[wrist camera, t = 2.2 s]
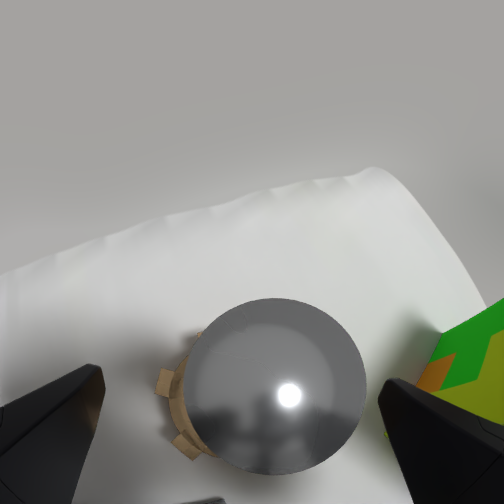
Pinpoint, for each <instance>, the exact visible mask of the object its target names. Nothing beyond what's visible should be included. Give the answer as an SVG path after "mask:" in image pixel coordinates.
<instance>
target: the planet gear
mask: <svg viewBox="0 0 504 504" xmlns="http://www.w3.org/2000/svg"><path fill="white" fill-rule="evenodd" d="M197 335H198V340H197V341H196V343H195V344H194V346H193V348H192V350H191V352H190V354H189V355H188V356H187V357H186V358H185V359H184V360H183V361H182V362H181V363H180V365H179V366H178V368H177V369H176V371H175V372H174V371H170V370H167V369H164V368H161V370H160V374H159V378H158V382H157V385H156V389H155V394H158V395H161V396H164V397H168V398H169V409H170V413H171V416H172V419H173V421H174V424H175V425H176V427H177V429H178V431H179V432H180V434H179V435H178V436H177V437H176V438H175V439H174V440H173V441H171V443H172V444H173V445H174V446H175V447H176V448H177V449H179V450H180V451H181V452H182V453H183V454H185V455H186V456H187V457H188V458H189V459H191V460H192V461H193V460H194V459H195V458H196V457H197V456H198V455H199V454H201V453H202V452H204V453H206V454H208V455H211V456H214V457H218V458H221V459H223V460H224V461H226V462H227V463H229V464H231V465H233V466H235V467H237V468H240V469H243V470H246V471H249V472H252V473H258V474H264V475H283V474H291V473H295V472H300V471H303V470H306V469H309V468H311V467H314V466H316V465H318V464H319V463H321V462H323V461H325V460H326V459H328V458H329V457H330V456H332V455H333V454H334V453H336V452H337V451H338V450H339V449H340V448H341V447H342V446H343V445H344V444H345V442H346V441H347V440H348V439H349V437H350V436H351V435H352V433H353V431H354V430H355V428H356V426H357V424H358V422H359V420H360V417H361V415H362V412H363V408H364V404H365V398H366V374H365V369H364V365H363V361H362V358H361V355H360V353H359V351H358V349H357V347H356V345H355V343H354V341H353V340H352V338H351V337H350V335H349V334H348V333H347V332H346V331H345V329H344V328H343V327H342V326H341V325H340V324H339V323H338V322H337V321H336V320H334V319H333V318H332V317H330V316H329V315H328V314H326V313H325V312H323V311H321V310H319V309H318V308H316V307H313V306H311V305H308V304H306V303H303V302H299V301H295V300H289V299H280V298H270V299H260V300H255V301H250V302H247V303H244V304H241V305H239V306H237V307H235V308H232V309H230V310H228V311H227V312H225V313H224V314H222V315H221V316H219V317H218V318H217V319H216V320H214V321H213V322H212V323H211V324H210V325H209V326H208V327H207V328H206V329H205V330H204V331H203V332H201V333H197Z"/></svg>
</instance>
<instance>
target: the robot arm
mask: <svg viewBox="0 0 504 504" xmlns="http://www.w3.org/2000/svg"><path fill="white" fill-rule="evenodd" d="M105 391H106V388H105V382H104V378H103V373H102V369H101V367H100V366H97V365H93V364H86V365H84V366H82V367H80V368H78V369H76V370H74V371H72V372H70V373H68V374H66V375H64V376H63V377H61V378H59V379H57V380H55V381H53V382H51V383H49V384H47V385H45V386H43V387H41V388H39V389H37V390H35V391H33V392H31V393H29V394H27V395H25V396H23V397H21V398H18V399H16V400H14V401H12V402H10V403H8V404H6V405H4V407H3V406H2V407H0V504H71V502H72V499H73V496H74V492H75V489H76V486H77V483H78V480H79V476H80V473H81V470H82V467H83V465H84V462H85V459H86V456H87V453H88V450H89V448H90V445H91V442H92V439H93V437H94V434H95V430H96V427H97V423H98V419H99V415H100V411H101V407H102V403H103V399H104V396H105ZM378 405H379V408H380V412H381V415H382V418H383V422H384V425H385V428H386V432H387V435H388V438H389V441H390V443H391V446H392V448H393V451H394V453H395V456H396V458H397V461H398V463H399V466H400V468H401V471H402V473H403V476H404V479H405V481H406V484H407V487H408V489H409V492H410V495H411V497H412V500H413V503H414V504H504V425H501V424H498V423H495V422H493V421H490V420H488V419H485V418H483V417H480V416H478V415H475V414H474V413H471V412H469V411H467V410H465V409H462V408H460V407H458V406H456V405H454V404H451V403H449V402H447V401H445V400H443V399H441V398H439V397H437V396H434V395H432V394H430V393H428V392H426V391H424V390H422V389H420V388H418V387H416V386H414V385H412V384H410V383H408V382H406V381H404V380H402V379H400V378H391V379H387V380H386V382H385V383H384V386H383V388H382V390H381V392H380V394H379V397H378Z"/></svg>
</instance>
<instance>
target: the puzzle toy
mask: <svg viewBox="0 0 504 504" xmlns="http://www.w3.org/2000/svg"><path fill="white" fill-rule="evenodd" d="M416 387H418V388H420V389H422V390H424V391H426V392H428V393H430V394H432V395H434V396H437V397H439V398H441V399H443V400H445V401H447V402H449V403H451V404H454V405H456V406H458V407H460V408H462V409H465V410H467V411H469V412H471V413H474V414H475V415H478V416H480V417H483V418H485V419H488V420H490V421H493V422H495V423H498V424H501V425H504V298H503V299H501V300H500V301H498V302H497V303H495V304H494V305H492V306H490V307H489V308H487V309H486V310H484V311H482V312H481V313H479V314H477V315H476V316H474V317H472V318H470V319H469V320H467V321H465V322H463V323H462V324H460V325H458V326H456V327H454V328H452V329H450V330H448V331H447V332H445V333H443V334H442V336H441V338H440V340H439V342H438V345H437V347H436V349H435V351H434V353H433V355H432V357H431V359H430V361H429V363H428V364H427V366H426V368H425V370H424V372H423V374H422V376H421V377H420V379H419V381H418V383H417V384H416ZM384 435H385V436H386V437H387V438H388V435H387V432H385V433H384Z"/></svg>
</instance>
